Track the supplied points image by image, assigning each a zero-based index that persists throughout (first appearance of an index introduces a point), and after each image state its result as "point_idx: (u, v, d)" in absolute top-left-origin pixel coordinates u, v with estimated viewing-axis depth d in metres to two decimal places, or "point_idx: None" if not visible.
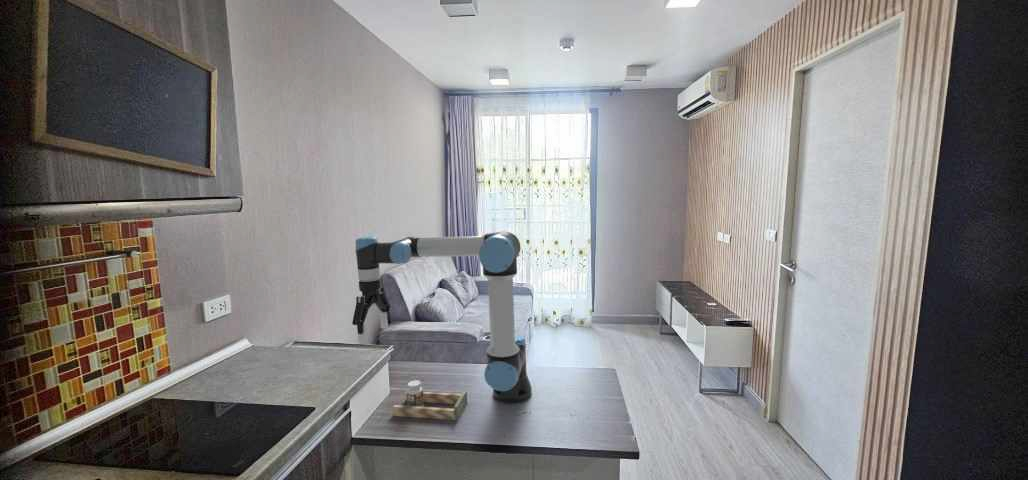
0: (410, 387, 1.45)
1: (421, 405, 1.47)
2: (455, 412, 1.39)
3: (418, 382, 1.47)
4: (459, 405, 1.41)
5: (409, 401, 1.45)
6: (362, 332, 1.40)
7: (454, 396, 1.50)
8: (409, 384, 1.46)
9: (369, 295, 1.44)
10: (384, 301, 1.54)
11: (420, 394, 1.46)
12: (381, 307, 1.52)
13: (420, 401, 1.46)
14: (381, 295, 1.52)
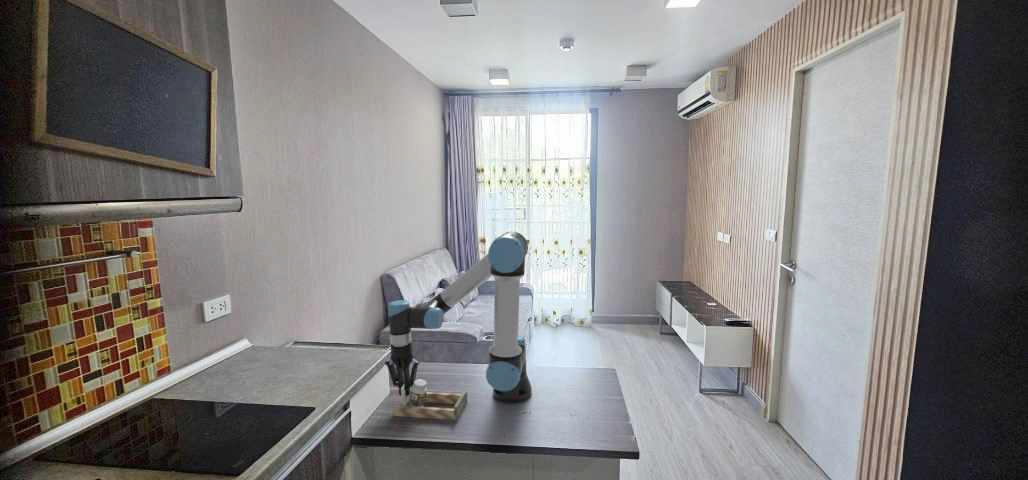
0: (416, 386, 1.45)
1: (422, 405, 1.47)
2: (455, 412, 1.39)
3: (424, 382, 1.47)
4: (459, 405, 1.41)
5: (412, 399, 1.45)
6: (400, 394, 1.48)
7: (454, 396, 1.50)
8: (415, 382, 1.46)
9: (393, 356, 1.46)
10: None
11: (424, 394, 1.46)
12: None
13: (422, 401, 1.46)
14: None
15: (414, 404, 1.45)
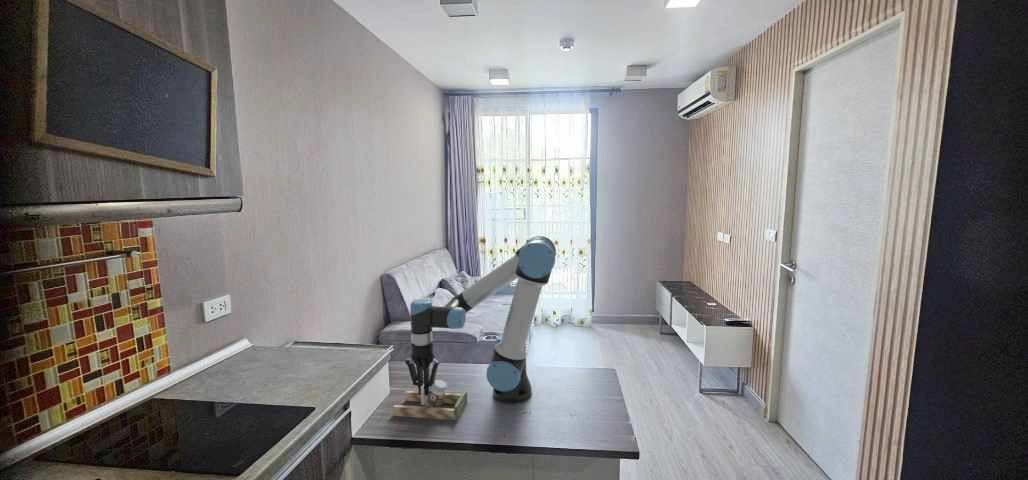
0: (436, 387, 1.43)
1: (439, 406, 1.45)
2: (455, 412, 1.39)
3: (444, 384, 1.46)
4: (459, 405, 1.41)
5: (430, 399, 1.44)
6: (420, 393, 1.46)
7: (454, 396, 1.50)
8: (436, 383, 1.44)
9: (414, 355, 1.44)
10: None
11: (442, 396, 1.44)
12: None
13: (440, 403, 1.45)
14: None
15: (431, 404, 1.44)
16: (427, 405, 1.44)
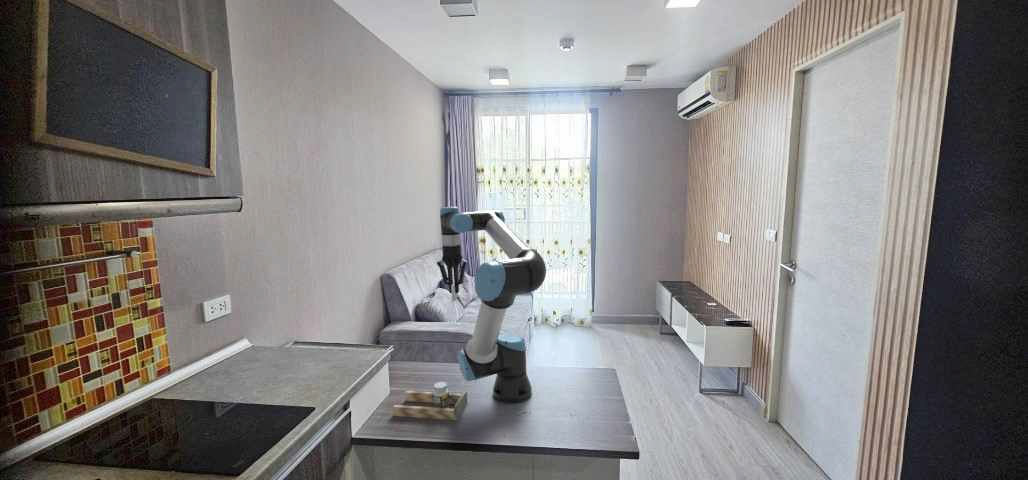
0: (436, 389, 1.43)
1: (447, 407, 1.44)
2: (455, 412, 1.39)
3: (444, 384, 1.45)
4: (459, 405, 1.41)
5: (435, 403, 1.44)
6: (450, 291, 1.65)
7: (454, 396, 1.50)
8: (435, 386, 1.44)
9: (444, 257, 1.63)
10: None
11: (446, 396, 1.44)
12: None
13: (446, 403, 1.44)
14: None
15: (438, 407, 1.43)
16: None
